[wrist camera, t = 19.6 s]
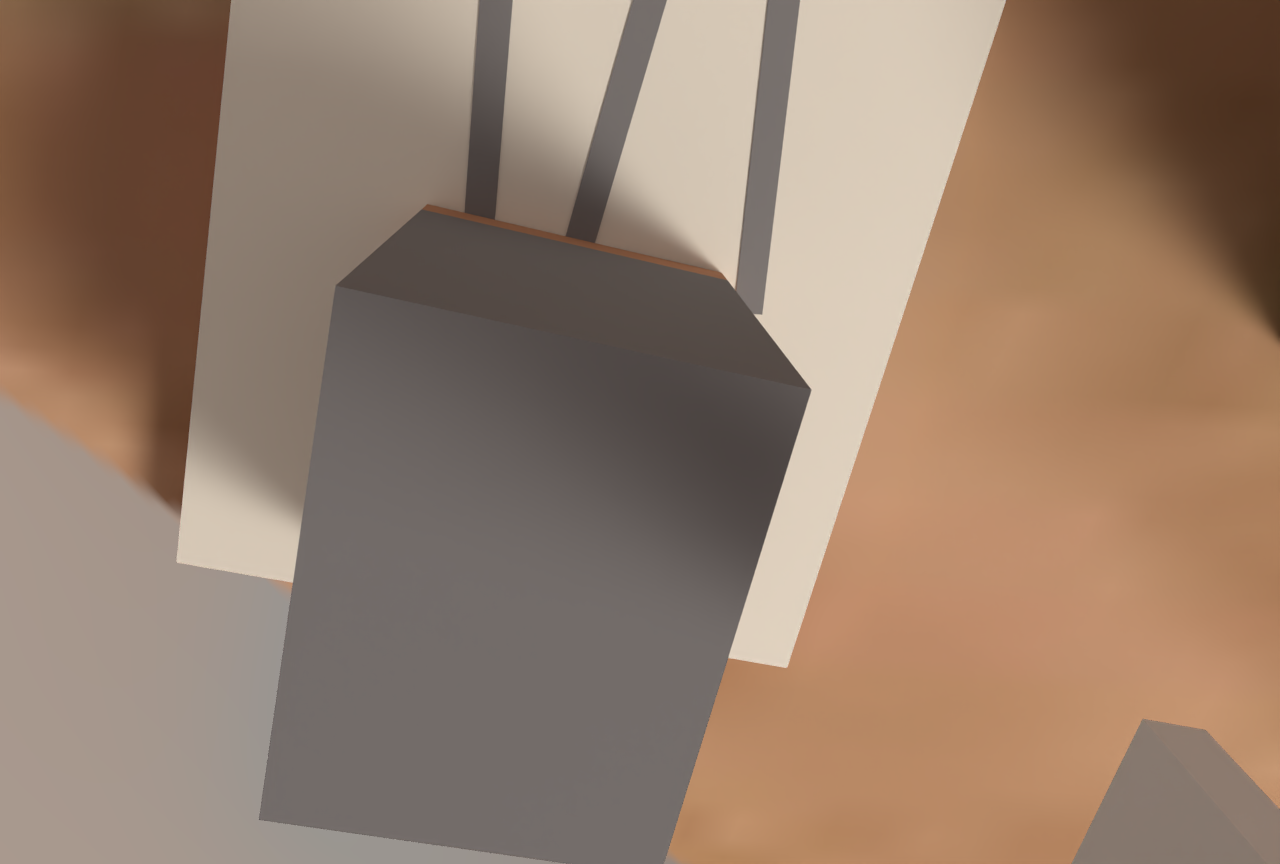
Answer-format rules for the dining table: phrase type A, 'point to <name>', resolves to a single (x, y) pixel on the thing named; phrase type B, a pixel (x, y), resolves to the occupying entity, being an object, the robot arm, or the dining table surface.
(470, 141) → the board
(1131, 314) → the dining table surface
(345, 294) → the block
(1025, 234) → the dining table surface
